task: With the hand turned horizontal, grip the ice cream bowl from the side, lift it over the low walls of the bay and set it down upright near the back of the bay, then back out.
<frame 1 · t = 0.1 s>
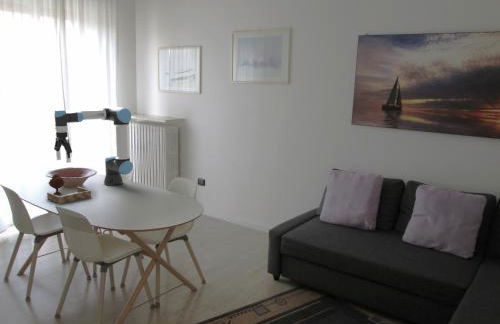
hand: (63, 161, 293), 28 cm above the table, tool pointing down, fingers open, 13 cm apart
bay: (69, 198, 300), on the table
ice cream bowl: (57, 194, 310), on the table
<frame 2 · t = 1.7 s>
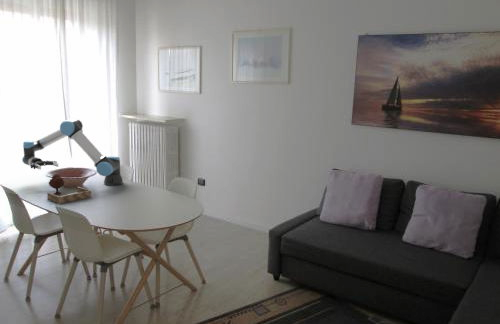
hand: (49, 166, 312), 20 cm above the table, tool horizontal, fingers open, 13 cm apart
nothing on the table moved.
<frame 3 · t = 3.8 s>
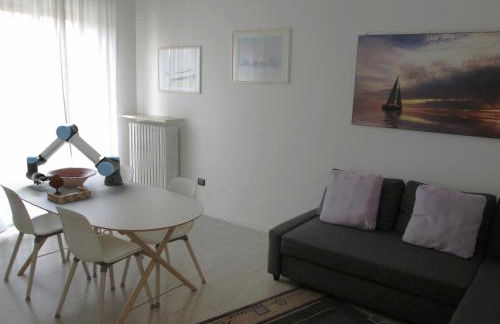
hand: (52, 182, 311), 8 cm above the table, tool horizontal, fingers open, 13 cm apart
nothing on the table moved.
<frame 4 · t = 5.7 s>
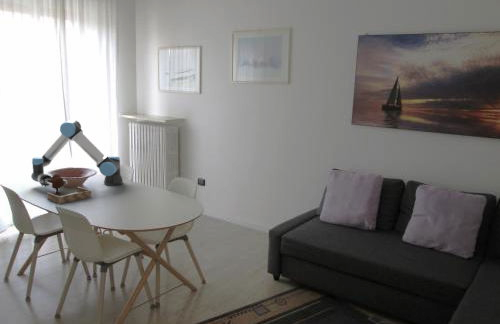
hand: (59, 183, 306), 9 cm above the table, tool horizontal, fingers closed on ice cream bowl, 11 cm apart
ice cream bowl: (57, 194, 310), on the table, touching gripper
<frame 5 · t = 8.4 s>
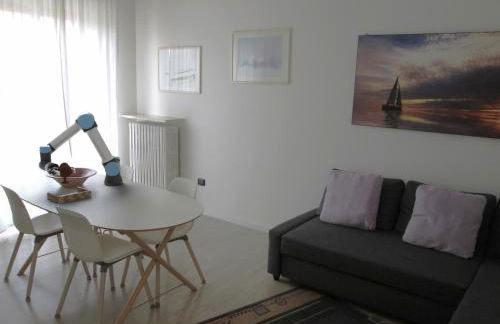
hand: (67, 172, 295), 20 cm above the table, tool horizontal, fingers closed on ice cream bowl, 11 cm apart
ice cream bowl: (65, 183, 299), point 11 cm above the table, touching gripper
when the fingers open (11 cm above the table, at t = 11.0 s): ice cream bowl drops 1 cm, resting on bay.
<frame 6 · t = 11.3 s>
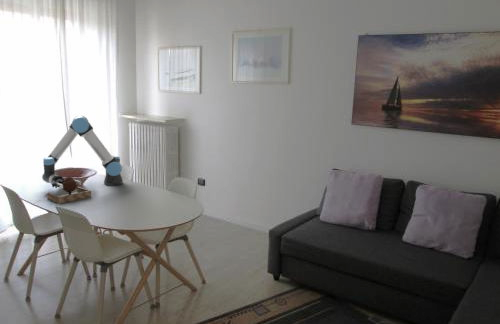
hand: (71, 184, 295), 11 cm above the table, tool horizontal, fingers open, 13 cm apart
ice cream bowl: (70, 197, 300), point 1 cm above the table, touching bay
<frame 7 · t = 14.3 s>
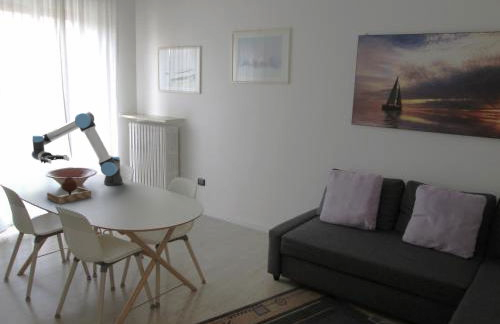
hand: (59, 160, 301), 27 cm above the table, tool horizontal, fingers open, 13 cm apart
nothing on the table moved.
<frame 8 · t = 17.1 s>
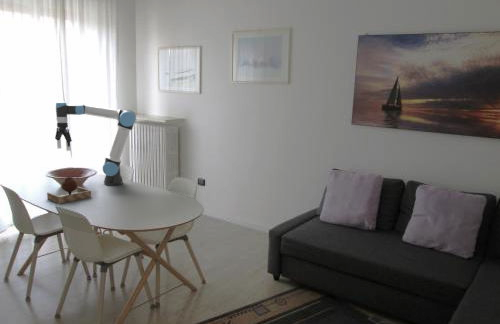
hand: (63, 149, 319), 32 cm above the table, tool pointing down, fingers open, 13 cm apart
nothing on the table moved.
at the end: ice cream bowl inside the target area on the bay (0.6 cm from its centre), point 0.6 cm above the bay's base; ice cream bowl tilted 0°; the gripper is holding nothing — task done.
